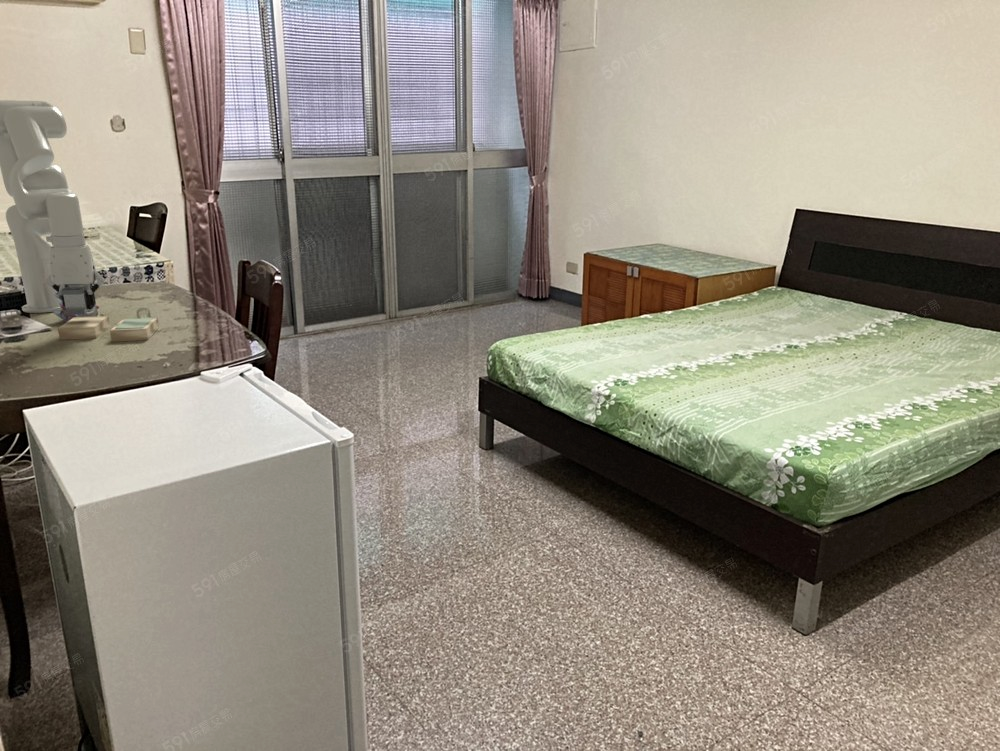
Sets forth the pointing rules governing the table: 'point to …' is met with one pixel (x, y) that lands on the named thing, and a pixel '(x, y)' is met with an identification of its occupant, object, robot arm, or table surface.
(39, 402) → the table surface
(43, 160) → the robot arm
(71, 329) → the stand
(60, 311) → the motor mount assembly
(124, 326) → the stand
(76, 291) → the block
